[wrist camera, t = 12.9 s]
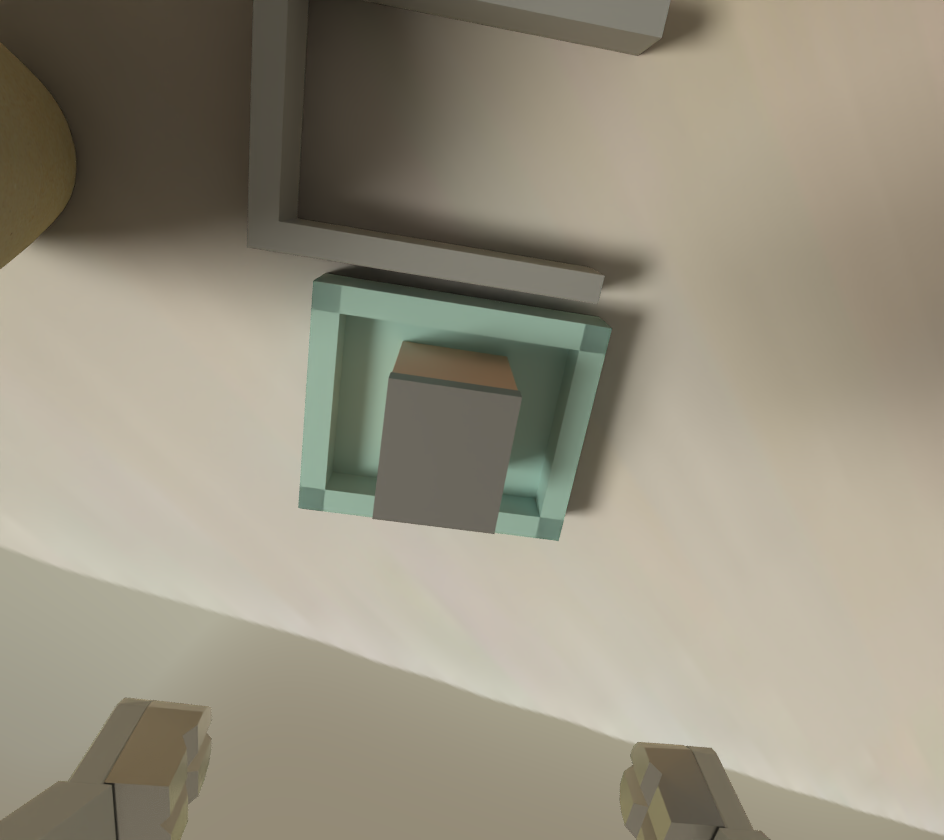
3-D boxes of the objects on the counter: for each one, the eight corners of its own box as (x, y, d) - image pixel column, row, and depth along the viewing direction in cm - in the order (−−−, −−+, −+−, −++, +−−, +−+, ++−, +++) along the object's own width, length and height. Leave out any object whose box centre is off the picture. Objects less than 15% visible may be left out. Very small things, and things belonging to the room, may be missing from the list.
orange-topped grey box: (387, 456, 30) (372, 518, 24) (402, 339, 28) (388, 378, 22) (486, 469, 30) (494, 533, 25) (508, 355, 28) (522, 397, 22)
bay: (268, 241, 26) (246, 247, 24) (280, -54, 23) (255, -89, 20) (583, 292, 28) (597, 304, 25) (645, 21, 24) (671, -1, 21)
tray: (310, 484, 31) (298, 508, 29) (325, 273, 27) (313, 280, 25) (550, 515, 32) (558, 540, 30) (598, 316, 28) (612, 328, 26)
